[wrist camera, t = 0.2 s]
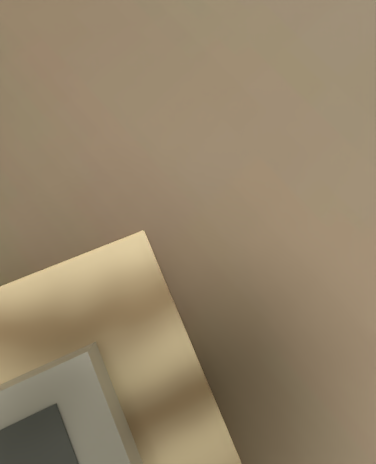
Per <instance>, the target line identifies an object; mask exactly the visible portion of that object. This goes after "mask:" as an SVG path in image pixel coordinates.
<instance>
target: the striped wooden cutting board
mask: <svg viewBox="0 0 376 464" xmlns="http://www.w3.org/2000/svg"><path fill="white" fill-rule="evenodd" d="M94 342H96V343H97V346H98V349H99V351H100V354H101V356H102V359H103V361H104V364H105V367H106V369H107V372H108V374H109V377H110V379H111V382H112V385H113V387H114V390H115V392H116V395H117V398H118V400H119V403H120V405H121V408H122V410H123V413H124V416H125V418H126V421H127V423H128V426H129V428H130V431H131V434H132V436H133V439H134V441H135V444H136V446H137V449H138V452H139V454H140V457H141V459H142V462H143V464H242V463H241V461H240V458H239V456H238V454H237V451H236V449H235V446H234V444H233V442H232V439H231V437H230V434H229V432H228V430H227V427H226V425H225V423H224V420H223V418H222V415H221V413H220V411H219V408H218V406H217V403H216V401H215V399H214V396H213V394H212V392H211V389H210V387H209V384H208V382H207V380H206V377H205V375H204V372H203V370H202V368H201V365H200V363H199V361H198V358H197V356H196V353H195V351H194V349H193V346H192V344H191V341H190V339H189V337H188V334H187V332H186V330H185V327H184V325H183V322H182V320H181V318H180V315H179V313H178V310H177V308H176V306H175V303H174V301H173V299H172V296H171V294H170V291H169V289H168V287H167V284H166V282H165V279H164V277H163V275H162V272H161V270H160V268H159V265H158V263H157V260H156V258H155V256H154V253H153V251H152V248H151V246H150V244H149V241H148V239H147V237H146V234H145V232H144V230H143V231H140V232H138V233H135V234H133V235H130V236H127V237H125V238H122V239H120V240H117V241H115V242H112V243H110V244H107V245H105V246H102V247H99V248H97V249H94V250H92V251H89V252H87V253H84V254H82V255H79V256H77V257H74V258H71V259H69V260H66V261H64V262H61V263H59V264H56V265H54V266H51V267H48V268H46V269H43V270H41V271H38V272H36V273H33V274H31V275H28V276H26V277H23V278H20V279H18V280H15V281H13V282H10V283H8V284H5V285H3V286H0V385H1V384H3V383H5V382H7V381H10V380H12V379H14V378H16V377H18V376H21V375H23V374H25V373H27V372H29V371H32V370H34V369H36V368H38V367H41V366H43V365H45V364H47V363H49V362H52V361H54V360H56V359H58V358H61V357H63V356H65V355H67V354H69V353H72V352H74V351H76V350H78V349H80V348H83V347H85V346H87V345H89V344H92V343H94Z"/></svg>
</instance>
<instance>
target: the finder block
mask: <svg viewBox="0 0 376 464" xmlns="http://www.w3.org/2000/svg"><path fill="white" fill-rule="evenodd" d="M0 464H143V462H142V459H141V457H140V454H139V452H138V449H137V446H136V444H135V441H134V439H133V436H132V434H131V431H130V428H129V426H128V423H127V421H126V418H125V416H124V413H123V410H122V408H121V405H120V403H119V400H118V398H117V395H116V392H115V390H114V387H113V385H112V382H111V379H110V377H109V374H108V372H107V369H106V367H105V364H104V361H103V359H102V356H101V354H100V351H99V349H98V346H97V343H96V342H94V343H92V344H89V345H87V346H85V347H83V348H80V349H78V350H76V351H74V352H72V353H69V354H67V355H65V356H63V357H61V358H58V359H56V360H54V361H52V362H49V363H47V364H45V365H43V366H41V367H38V368H36V369H34V370H32V371H29V372H27V373H25V374H23V375H21V376H18V377H16V378H14V379H12V380H10V381H7V382H5V383H3V384H1V385H0Z"/></svg>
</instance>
